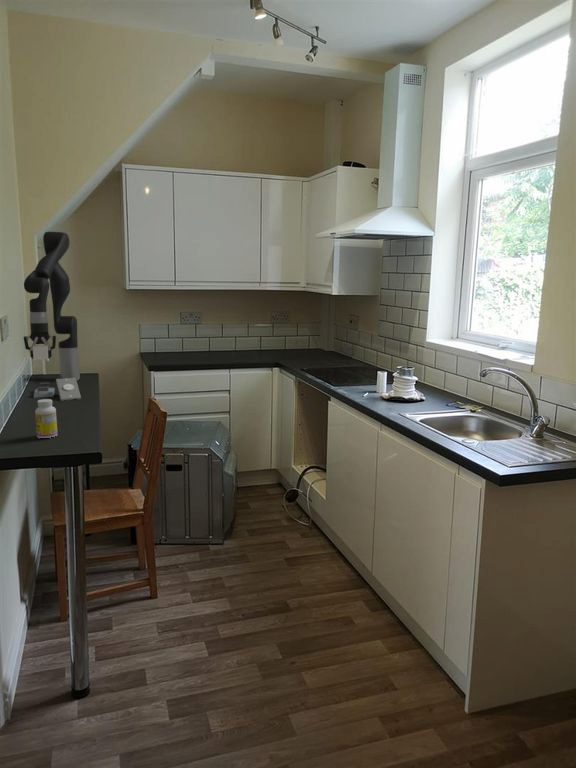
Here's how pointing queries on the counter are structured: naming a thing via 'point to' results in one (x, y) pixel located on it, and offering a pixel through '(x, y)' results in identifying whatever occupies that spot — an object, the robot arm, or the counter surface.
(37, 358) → the block
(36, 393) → the plate
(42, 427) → the supplement bottle
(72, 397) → the light switch
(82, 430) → the counter surface
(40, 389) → the din rail
